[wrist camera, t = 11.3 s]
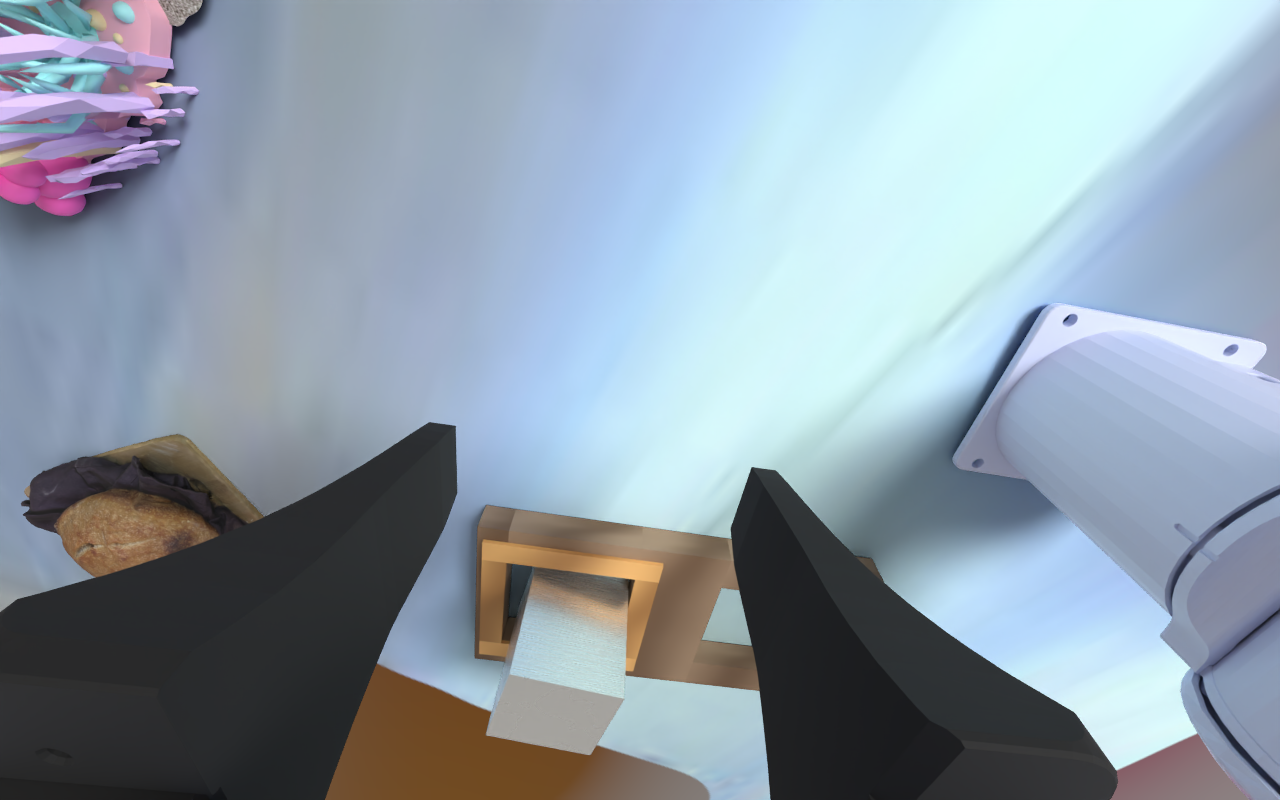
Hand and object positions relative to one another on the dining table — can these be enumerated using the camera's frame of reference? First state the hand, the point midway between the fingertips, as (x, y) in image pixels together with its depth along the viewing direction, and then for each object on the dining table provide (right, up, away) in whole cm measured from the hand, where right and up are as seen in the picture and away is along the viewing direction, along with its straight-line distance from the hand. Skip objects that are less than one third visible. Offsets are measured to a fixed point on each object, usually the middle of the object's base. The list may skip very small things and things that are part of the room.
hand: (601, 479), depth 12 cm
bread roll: (-24, -4, +14) cm, 28 cm away
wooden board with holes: (+2, -9, +16) cm, 19 cm away
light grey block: (-3, -9, +16) cm, 18 cm away
